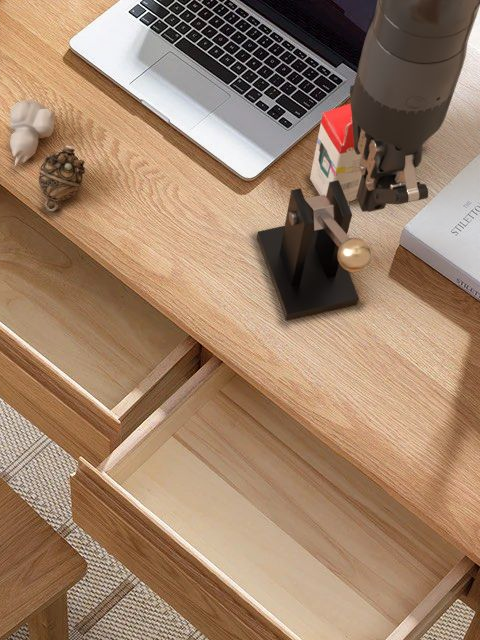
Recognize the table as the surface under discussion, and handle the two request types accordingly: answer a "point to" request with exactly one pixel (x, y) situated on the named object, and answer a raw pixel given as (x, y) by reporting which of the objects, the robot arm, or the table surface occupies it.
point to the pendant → (60, 175)
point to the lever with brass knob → (339, 235)
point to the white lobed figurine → (29, 127)
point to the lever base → (308, 259)
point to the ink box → (336, 154)
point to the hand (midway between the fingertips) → (369, 203)
